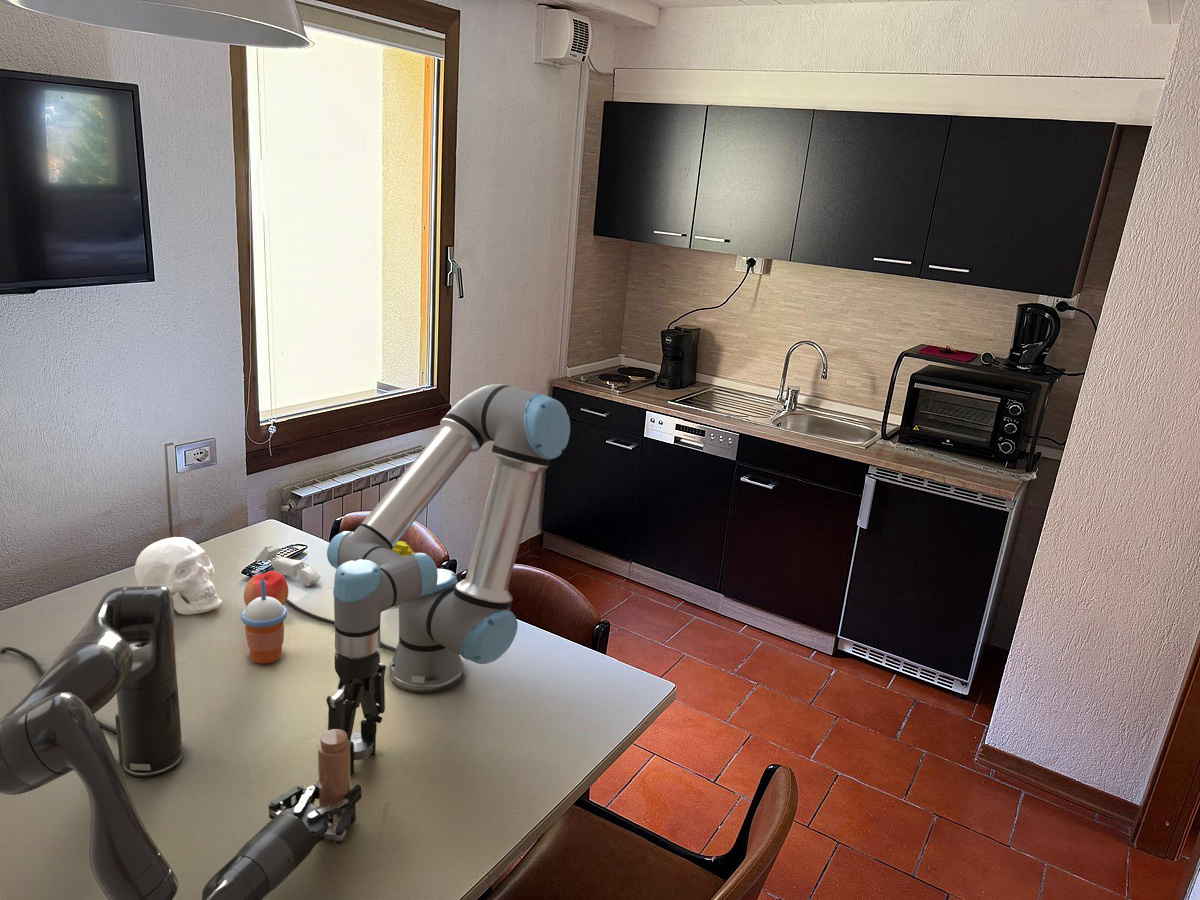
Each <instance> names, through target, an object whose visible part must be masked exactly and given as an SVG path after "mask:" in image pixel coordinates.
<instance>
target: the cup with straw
mask: <svg viewBox="0 0 1200 900" xmlns="http://www.w3.org/2000/svg"><path fill="white" fill-rule="evenodd" d="M287 610H288V609H287V608H286V607H285V605H284V606H283V605H282V604H281V603H280V602H279V601H278V600H277V599H275V598H273V597H268V596H266V588H265V580H261V597H259V598H256V599H254V600H253V601H251V602H250V603H249V604H248V605H247V606H245V608H244V609H243V610H242V611H241V614H240V620H241V622H242V623H243V625H244V631H245V639H246V643H247V647H248V651H249V657H250V660H251V662H254V663H256V664H261V665H263V664H270V663H274V662H276V661H278V660H279V659H280V658H281V657H282V652H283V651H282V650H283V643H284V638H285V620H286V618H287V617H288V611H287Z"/></svg>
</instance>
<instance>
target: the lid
mask: <svg viewBox="0 0 1200 900" xmlns="http://www.w3.org/2000/svg"><path fill="white" fill-rule="evenodd" d="M351 742H353V743H354V761H362V760H364V759H367V758H369V756H370V755H371V753H372V752H373V748H374V742H373V738H372V737H371V736H370V735H368V734H366V733H361V732H352V736H351ZM370 757H371V756H370Z"/></svg>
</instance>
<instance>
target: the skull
mask: <svg viewBox="0 0 1200 900" xmlns="http://www.w3.org/2000/svg"><path fill="white" fill-rule="evenodd" d="M214 575H215V568H214V566H213V563H212V561H211V558H210V557H209V555H208V554H207V552H206V551H205V549H203V548H202V547H201V546H199V545H198V544H197V543H196V542H195V541H194V540H191V539H189V538H186V537H182V536H172V537H167V538H163V539H159V540H157V541H155V542H153V543H151V544H149V545H147V547H145V548H144V549H142V551H141V552H140V553H139V555H138V556H137V558H136V560H135V563H134V577H135V581H136V583H137V584H138V586H166V587H168V588H169V589H170V591H171V593H172V596H173V601H174V611H176V612H177V613H178V614H179V615H187V616H188V615H196V614H202V613H206V612H210V611H213V610H215V609H217V608H219V607H221V606H222V604H223V600H222V599H221V598H220V597H219V595H218V593H217V591H216V589H217V587H216V586H215V585H214V583H213V582H212V581H211V580H210V578H211V577H212V576H214ZM180 594H181V595H180ZM182 597H184V598H186V599H187V601H188V602H186V601H185V600H184V599H183V598H182ZM181 611H182V612H181Z"/></svg>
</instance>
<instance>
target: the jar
mask: <svg viewBox="0 0 1200 900" xmlns="http://www.w3.org/2000/svg"><path fill="white" fill-rule="evenodd" d="M317 767H318V769H317V773H318V781H319V799H318V807H324V806H326V805H327V804H329V803H333V804H334V803H336V802H338V801H340V800H341V799H343V797H344V796H345V795H346V794H347V793H348V792H349V791H350V790H351V776H350V742H349V740H348V739H347V733H346V732H345V731H343V730H341V729H331V730H328V729H327V730H325V732H323V733H322V734H321V736H320V737H319V743H318V745H317ZM340 810H341V809H339V810H338V811H337V812H339V811H340ZM339 821H340V820H338V823H339ZM331 828H332V827H331ZM329 829H330V828H329ZM350 831H351V830H350ZM350 831H349V833H350ZM324 840H327V841H335V839H329V838H325V839H324Z"/></svg>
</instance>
